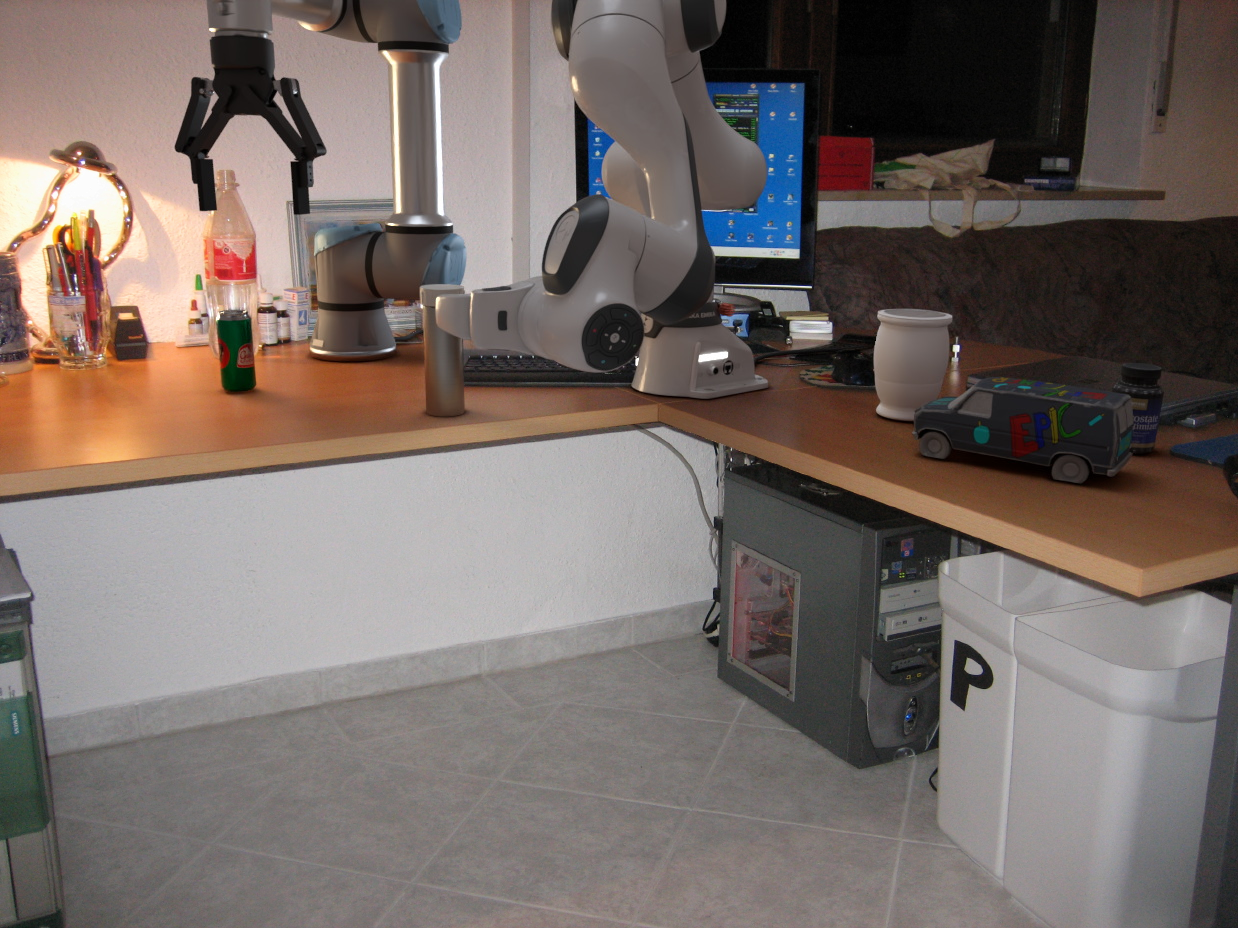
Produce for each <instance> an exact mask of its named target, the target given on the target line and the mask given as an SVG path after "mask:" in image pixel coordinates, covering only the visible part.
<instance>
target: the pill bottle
mask: <svg viewBox="0 0 1238 928" xmlns="http://www.w3.org/2000/svg"><path fill="white" fill-rule="evenodd" d="M1162 371H1163V367H1161V366H1158V365H1155V364H1149V363H1142V362H1141V363H1140V362H1126V363H1122V365H1121V369H1120V375H1121V380H1119V381H1116V382H1115V383H1114V384H1113V385H1112V388H1111V392H1115V393H1121V394H1127V395H1129V396H1131V401H1132V410H1133V418H1134V426H1135V427H1134V430H1133V436H1132V441H1131V448H1130V451H1129V452H1131V453H1133V454H1140V455H1141V454H1148V453H1151V452H1153V451H1154V450H1155V448H1156V440H1157V435H1158V428H1159V424H1160V419H1161V418H1160V417H1161V412H1162V407H1163V399H1164V395H1165V391H1164V389H1163V387H1162V386H1161V385H1159V383H1158V381H1159V380H1160V379H1161V377H1162Z"/></svg>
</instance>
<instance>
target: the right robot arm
mask: <svg viewBox="0 0 1238 928" xmlns="http://www.w3.org/2000/svg"><path fill="white" fill-rule="evenodd" d="M550 8H551V10H550V30H551V35H552V38H553V41H554V43H555V45H556V49H557V51H558V53H559V54H560V56H561V57H562V58H563V59H564V60H565V61H567V62H568V67H567V68H568V80H569V85H570V89H571V93H572V96H573V99H574V101H575V102H576V104H577V106H578V108H579V109H580V110H581V112H582V113H583V114H584V115H585V117H586V118H587V119H588V120H590V122H592V123H593V124H594V125H595V126H597V127H598V128H599V129H600V130H602V131H603V132H604V133H605V134H606V135H607V136H609V138H611V139H612V140H613V141H614V142H613V143H612V144H611V145H610V146H609V148H608V149H607V150H606V153H605V154H604V157H603V159H602V162H601V163H602V164H601V181H602V184H603V187H604V189H605V191H606V193H607V194H608V196H609V197H607V196H605V195H603V194H601V193H596V194H592V195H591V194H590V195H588V196H585V197H583V198H582V199H580V200H577V201H576V202H575V203H574V204H572V205H571V206H569V207H568V208H567V209H566V210H565V211H563V212H562V213H561V214H560V215H559V216H558V217H557V218H556V220H555V221H554V223H553V225H552V228H551V229H550V232H549V234H548V237H547V239H546V242H545V245H544V250H543V254H542V259H541V275H539V276H538V275H537V276H532V277H529V278H527V279H525V280H521V281H517V282H514V283H510V284H508V285H500V286H495V287H484V288H483V287H482V288H479V289H477V288H476V289H473V290H472V291H471V292H470V293H465V294H444V295H439V296H438V297H437V298H436V305H435V312H436V323H437V326H438V327H439V328H440V329H442V330H444V331H445V332H447V333H449V334H451V335H454V336H456V337H459V338H462V339H463V340H466V341H470V343H471V346H472V347H473V348H475V349H478V350H486V351H507V352H509V351H510V352H511V351H512V352H518V353H522V354H526V355H530V356H534V355H536V356H538V357H541V358H543V359H546V360H550V361H554V362H556V363H558V364H560V365H562V366H565V367H567V368H570V369H573V370H577V371H581V372H585V373H598V374H599V373H608V372H612V371H615V370H618V369H620V368H622V367H624V366H626V365H627V364H628V363H630V362H631V361H632V360H633V359H634V358H635V357H636V356H637V354H638V358H636V359H635V366H636V368H635V372H634V376H633V379H632V382H631V384H630V385H631V387H632V388H633V389H634V390H637V391H639V392H642V393H646V394H651V395H658V396H668V397H669V396H670V397H684V398H694V399H702V400H708V399H709V400H710V399H714V398H721V397H726V396H731V395H736V394H742V393H747V392H753V391H759V390H763V389H767V388H769V381H768V379H766V378H764V377H763V376H761V375H758V374H756V367H755V365H756V363H757V362H759V361H763V360H766V359H770V358H775V357H783V356H794V355H806V354H820V353H822V354H823V353H836V351H838V350H842V349H846V348H858V347H859V348H860V347H864V345H860V344H858V345H859V346H852V345H850V346H851V347H843V346H840V347H841V348H829V347H823V348H824V349H819V348H820V347H815V348H801V349H800V348H798V349H787V350H779V351H773V352H772V351H771V352H766V353H762V354H759V355H756V356H754V353H753V351H752V348H751V347H750V346H749V345H748V344H747V343H745V342H744V341H743V340H742V339H741V338H739V337H738V335H736V334H735V333H734V332H732V331H731V330H730V329H729V328H728V327H727V326H726V325H725V324H723V319H722V316H725V317H728V318H731V317H733V316H734V314H735V313H736V312H735V311H736V306H735V305H734V304H733V303H727V302H723V303H721V304H720V303H719V302H718V301H717V300H715V282H716V255H715V252H714V249H713V247H712V246H711V244H710V241H709V238H708V236H707V232H706V229H705V224H704V217H703V211H705V212H708V211H709V212H725V211H731V210H738V209H745V208H749V207H752V206H753V205H754V204H755V203H757V201H758V199H759V198H760V197H761V195H762V194H763V192H764V190H765V187H766V185H767V180H768V164H767V161H766V158H765V155H764V153H763V152H762V150H761V148H760V147H759V145H758V144H757V143H755V142H754V141H753V140H751V139H749V138H747V137H745V136H743V135H742V134H740V133H739V132H738V131H736V130H735V129H734V128H733V127H732V126H730V124H729V123H728V122H727V121H725V119H724V118H723V116H721V114H720V113H719V112H718V110H717V108H716V107H715V105H714V104H713V101H712V100H711V97H710V94H709V91H708V87H707V83H706V79H705V75H704V74H705V73H704V70H703V64H702V61H701V60H702V59H701V54H700V52H701V51H703V50H705V49H708V48H710V47H712V46H713V45H715V43H716V42H717V41H718V40H719V38H720V37H721V36H722V32H723V27H724V23H725V21H726V15H727V0H551V7H550ZM873 334H876V335H877V332H876V331H875V332H873ZM838 352H839V351H838Z"/></svg>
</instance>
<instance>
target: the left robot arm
mask: <svg viewBox="0 0 1238 928" xmlns="http://www.w3.org/2000/svg"><path fill="white" fill-rule="evenodd" d="M206 10H207V24H208V30H209V31H210V32H211V33H212V34H213V33H214V36H211V37H210V39H209V49H210V60H211V61H210V64H211V66H212V68H213V71H214V77H213V79H209V78H208V77H207V78H206V77H199V76H193V77H191V80H190V84H191V85H190V97H189V101H188V103H187V107H186V109H185V113H184V116H183V119H182V122H181V126H180V128H179V131H178V134H177V138H176V141H175V144H174V151H175V152H176V153H177V154H183V155H185V156H187V157H188V159H189V163H190V173H191V181H192V183H193V184H194V185H196V186H197V199H198V210H199V212H213V211H218V206H217V205H218V204H217V193H216V192H217V191H216V182H215V179H216V178H215V169H214V159H213V158H210V155H209V153H210V151H211V149H212V148H213V147H214V146H215V144H216V142H217V141H218V139H219V137H220V136H221V134H222V133H223V131H224V130H225V127H226V126H227V125H228V123H229V122H230V120H232V119H233V118H235V116H257V117H259V116H260V117H261V118H262V119H265V120H266V122H267V123H268V124H269V126H271V128H272V129H273V131H274V132H275V133H276V134H277V136H278V137H279V138H280V140H281V141H282V142H283V143H284V144H285V146H286V147H287V148H288V150H289V151H290V153H291V154H292V155H293V157H294V158H293V161H291V160H290V176H291V177H290V178H291V193H292V207H293V210H292V211H293V215H294V216H302V215H311V205H310V204H311V203H310V189H309V188H314V184H315V180H314V177H315V176H314V161H315V159H318V158H320V157H323V156H326V155H327V154H328V153H327V152H328V150H327V147H326V145H325V143H324V141H323V139H322V137H321V135H320V133H319V131H318V129H317V127H316V125H315V123H314V121H313V118H312V116H311V113H310V112H309V110H308V108H307V106H306V104H305V102H304V99H303V98H302V93H301V87H300V82H299V80H298V79H297V78H294V77H293V78H292V77H285V76H283V77H281V78H280V79H276V77H275V69H276V59H275V56H276V55H275V45H274V42H273V41H272V39H270V38H269V36H272V35H273V34H274V29H273V28H274V27H273V26H274V25H273V16H276V17H281V18H284V19H289V20H294V21H296V22H297V23H298V24H299V25H300V26H301V27H302V28H304V29H306V30H308V31H311V32H316V33H320V34H324V35H327V36H331V37H334V38H339V39H343V40H346V41H351V42H357V43H363V44H365V43H366V44H377V54H378V55H379V57H380V58H381V59H383V61H385V63H386V65H387V77H388V100H389V101H388V102H389V103H388V104H389V122H390V123H389V127H390V129H389V130H390V149H391V150H390V153H391V179H392V181H391V182H392V200H393V201H392V203H393V204H392V205H393V212H392V213H391V215H390V216H388V218H387V220H386V221H385V222H384V225H385V226H384V227H385V228H384V230H385V231H383V228H382V226H381V224H380V223H379V222H371V223H362V224H354V225H344V226H336V227H335V226H334V227H327V228H321V229H319V230H318V231H317V232H316V233H315V235H314V246H313V247H314V249H313V258H314V269H315V280H316V284H315V285H316V297H317V310H318V311H317V316H316V321H315V323H314V327H313V331H312V335H311V338H310V342H309V355H310V356H311V357H312V358H314V359H317V360H323V361H331V362H366V361H376V360H382V359H387V358H390V357H394V356H395V355H396V354H397V343H396V342H407V341H410V340H412V339H413V338H414V337H415V336H418V335H421V334H424V330H420V329H421V328H419V329H418V328H417V329H415V330H413V331H411V332H410V333H409V334H407V335H402V336H394V333H393V331H392V329H391V325H390V323H389V320H388V317H387V314H386V311H385V299H387V300H407V301H420V286H423V285H432V284H452V285H461V286H462V283H463V281H464V276H465V273H466V267H467V247H466V246H465V244H466V242H465V240H464V239H463V237H462V236H461V235H460V234H457V233H456V232H455V233H454V222H453V221H452V220H451V219H450V218H449V217H448V215H446V212H445V201H444V197H445V196H444V194H445V193H444V163H443V160H444V157H443V124H442V122H443V121H442V120H443V119H442V86H441V83H442V82H441V66H442V64H443V63H444V62H445V61H446V60H447V59H448V58H449V56H450V45H452V44H454V43H456V42H457V41H458V40H459V39H460V37H461V30H462V25H463V24H462V22H463V21H462V10H461V4H460V0H206ZM214 94H215V95H216V96H217V97H218V98H217V100H216V101H215V103H213V106H212V107H211V113H210V114H209V116H208V117H207V119H206V121H205V118H206V116H207V113H208V110H209V106H210V103H211V100H212V99H211V98H212V97H213V95H214ZM277 94H279V96H280V97H281V98H282V100H283V102H284V105H285V107H286V109H287V111H288V113H289V115H290V117H291V119H292V121H293V124H294V126H295V127H294V126H293V125H292V123H291V122H290V121H289V120H288V119H287V118H286V116H285V115H284V111H283V110H282V109H281V106H279V105H278V103H277V102H276V101H275V97H276V95H277ZM204 121H205V122H204ZM295 128H296V129H297V130H296V129H295ZM415 331H416V332H415ZM413 332H414V333H413Z"/></svg>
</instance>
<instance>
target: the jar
mask: <svg viewBox="0 0 1238 928" xmlns="http://www.w3.org/2000/svg"><path fill="white" fill-rule="evenodd" d="M877 319H878V321H880V325H879V327H878V329H877V332H876V333H877V336H876V341H875V345H874V346H873V372H874V384H875V385H874V386H875V391H876V395H877V398H878V399H879V401H880V402H879V404H877V405H878V406H877V407H876V409H875V412H876V413H877V415H879V416H881V417H884V418H887V419H889V420H890V419H891V420H896V421H903V422H914V414H915V410H916V409H918V408H919V407H921V406H923V405H924V404H926V403H929V402H931V401H934V400H936V399H939V396H940V393H941V391H942V388H943V384H944V378H945V377H946V376H945V375H946V373H947V369H948V364H949V360H950V359H949V357H950V334H949V327H948V326H949V325H951V324H952V323H953V315H952V314H950V313H947V312H943V311H936V310H929V309H918V308H888V309H880V310H878V311H877Z"/></svg>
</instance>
